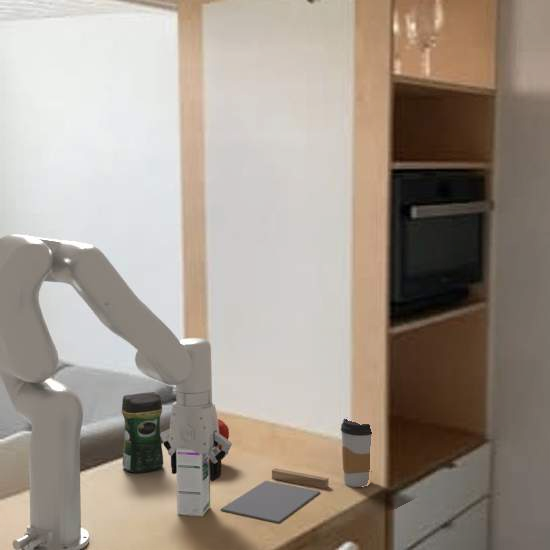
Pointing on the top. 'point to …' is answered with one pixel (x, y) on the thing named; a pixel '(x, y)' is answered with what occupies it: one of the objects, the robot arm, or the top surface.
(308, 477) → the strip
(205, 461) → the syrup box
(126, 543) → the top surface
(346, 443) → the coffee cup
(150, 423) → the coffee jar
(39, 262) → the robot arm
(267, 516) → the mat
